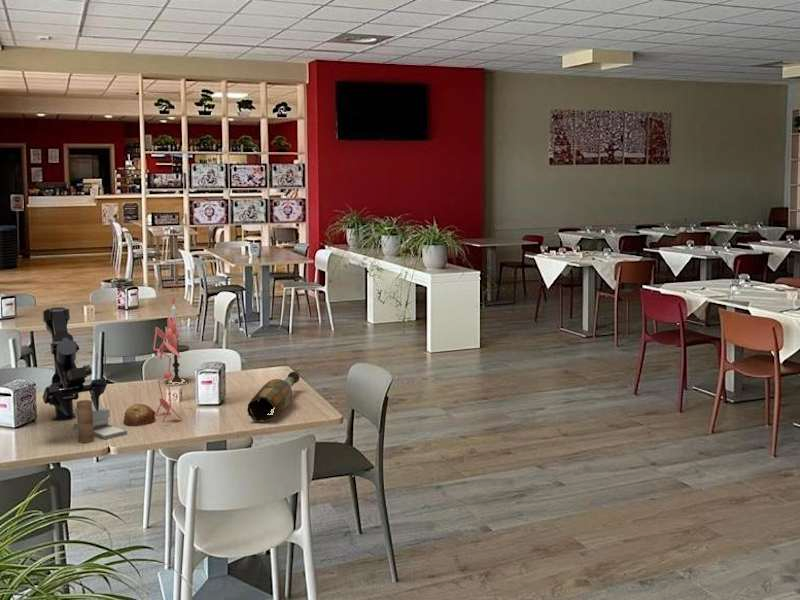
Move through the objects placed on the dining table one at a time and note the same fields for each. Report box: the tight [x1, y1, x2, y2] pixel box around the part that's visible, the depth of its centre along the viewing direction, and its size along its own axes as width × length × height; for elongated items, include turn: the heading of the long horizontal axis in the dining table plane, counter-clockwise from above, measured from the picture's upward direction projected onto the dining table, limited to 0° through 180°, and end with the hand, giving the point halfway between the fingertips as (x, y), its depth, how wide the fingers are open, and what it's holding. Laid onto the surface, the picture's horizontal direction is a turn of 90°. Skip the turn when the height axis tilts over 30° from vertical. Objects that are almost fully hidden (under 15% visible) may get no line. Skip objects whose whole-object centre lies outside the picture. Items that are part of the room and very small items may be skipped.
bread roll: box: [122, 403, 156, 427], centre depth 290 cm, size 10×10×8 cm
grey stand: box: [72, 403, 128, 441], centre depth 280 cm, size 20×8×6 cm, turn 47°
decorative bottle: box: [247, 371, 301, 424], centre depth 309 cm, size 11×11×45 cm
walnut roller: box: [76, 399, 95, 444], centre depth 269 cm, size 4×4×12 cm
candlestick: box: [160, 296, 190, 385], centre depth 343 cm, size 11×11×35 cm
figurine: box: [152, 315, 198, 427], centre depth 295 cm, size 15×26×35 cm, turn 30°
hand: (83, 412), depth 269 cm, fingers open, 9 cm apart
